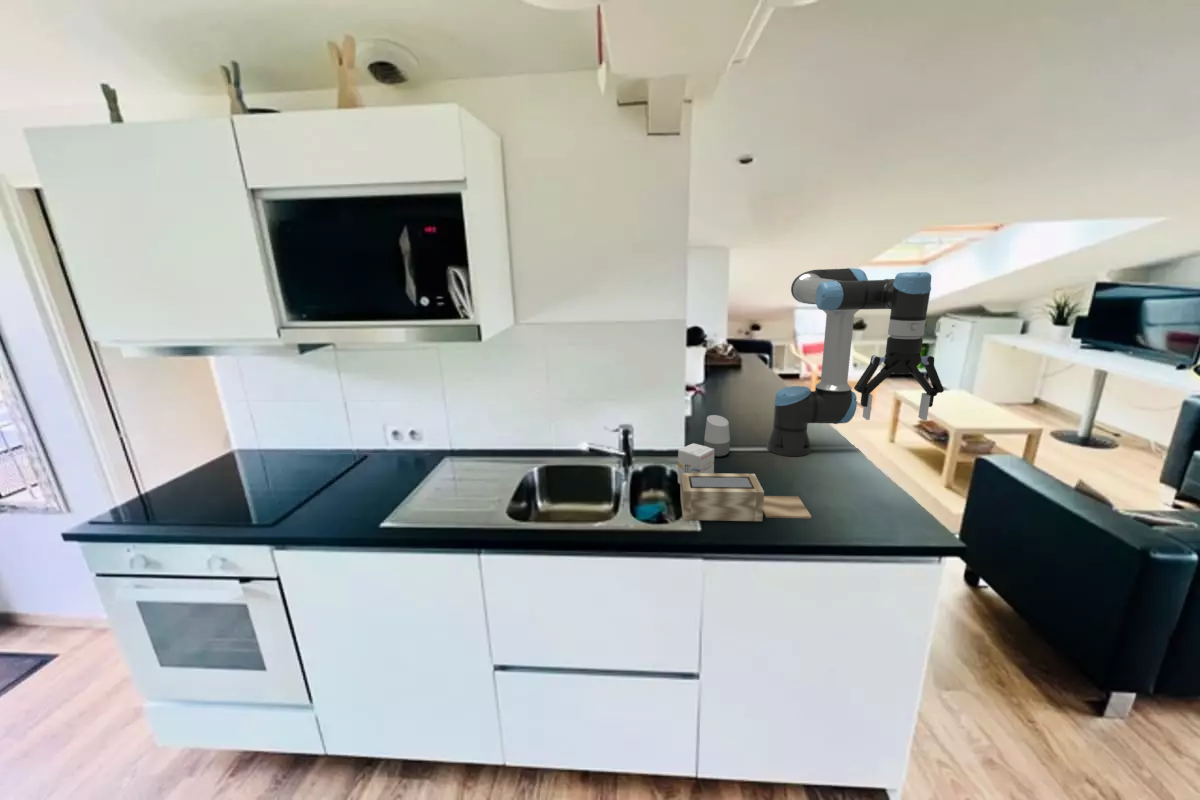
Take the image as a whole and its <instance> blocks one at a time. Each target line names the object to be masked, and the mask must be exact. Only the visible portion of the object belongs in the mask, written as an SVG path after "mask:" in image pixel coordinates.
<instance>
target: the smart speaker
mask: <svg viewBox="0 0 1200 800" xmlns="http://www.w3.org/2000/svg"><path fill="white" fill-rule="evenodd" d="M730 435H731V434H730V423H729V421H728V419H726V417H723V416H722V415H717V414H710V415H708V416H707V417H706V423H705V432H704V439H703V446H706V447H709V448H713V449H714V458H721V457H724V456H727V454H729V452H730V449H731V436H730Z"/></svg>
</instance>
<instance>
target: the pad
mask: <svg viewBox="0 0 1200 800" xmlns="http://www.w3.org/2000/svg"><path fill="white" fill-rule="evenodd" d="M763 516H765V519H766V518H767V519H768V518H769V519H772V518H773V519H812V515H811V513H810V512H809V510H808V509H807V508H806V506H805V504H804V502H803V501H802V500H801V498H800V496H797V495H791V496H788V495H764V504H763Z"/></svg>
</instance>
